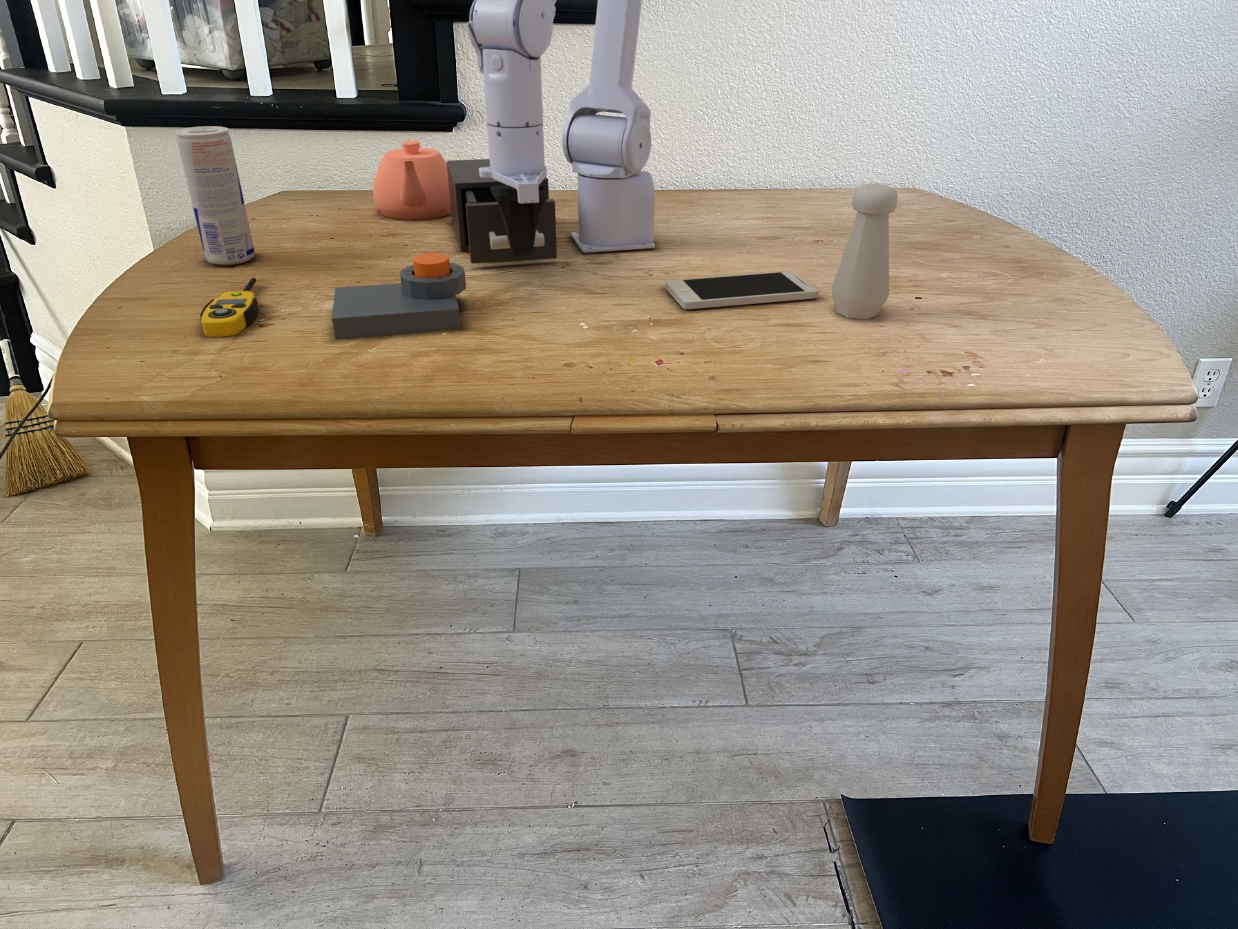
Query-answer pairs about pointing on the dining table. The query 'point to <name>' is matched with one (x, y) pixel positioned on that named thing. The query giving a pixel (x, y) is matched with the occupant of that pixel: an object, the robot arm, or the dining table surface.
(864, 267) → the salt shaker
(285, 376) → the dining table surface
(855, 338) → the dining table surface
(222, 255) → the beverage can
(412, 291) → the block
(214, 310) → the yellow walkie talkie
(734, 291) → the smartphone
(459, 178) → the small drawer cabinet
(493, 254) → the pull-out drawer
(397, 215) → the teapot
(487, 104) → the robot arm
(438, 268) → the button
